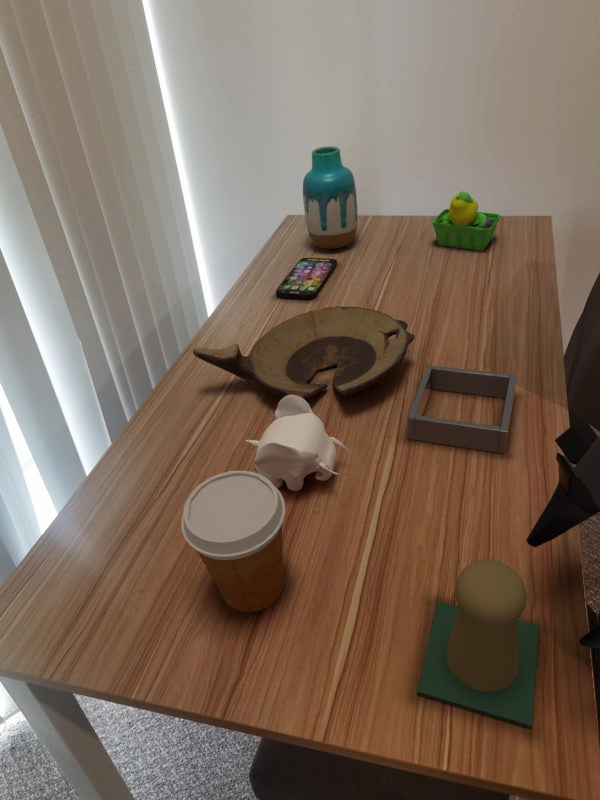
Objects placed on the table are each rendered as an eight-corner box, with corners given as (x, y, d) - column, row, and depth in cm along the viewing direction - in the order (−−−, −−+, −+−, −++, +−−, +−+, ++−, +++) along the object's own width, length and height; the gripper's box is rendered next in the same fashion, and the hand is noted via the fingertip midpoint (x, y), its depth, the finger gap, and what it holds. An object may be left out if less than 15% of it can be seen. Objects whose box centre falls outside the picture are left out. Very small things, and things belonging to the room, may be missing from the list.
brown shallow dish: (406, 424, 78) (405, 376, 73) (192, 412, 85) (179, 368, 80) (419, 333, 94) (419, 289, 90) (239, 329, 102) (231, 289, 97)
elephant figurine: (340, 509, 67) (334, 450, 62) (240, 498, 71) (226, 442, 65) (354, 451, 75) (350, 394, 69) (263, 444, 78) (252, 389, 72)
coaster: (538, 629, 53) (539, 625, 53) (531, 729, 47) (532, 725, 47) (437, 604, 57) (437, 600, 56) (416, 694, 50) (416, 691, 50)
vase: (298, 251, 125) (286, 156, 113) (326, 232, 131) (318, 140, 119) (341, 259, 119) (333, 160, 108) (368, 239, 126) (364, 143, 114)
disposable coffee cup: (236, 536, 66) (214, 457, 59) (314, 562, 62) (301, 480, 55) (188, 608, 59) (156, 529, 52) (271, 641, 56) (250, 561, 48)
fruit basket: (499, 238, 118) (504, 181, 111) (484, 257, 113) (489, 197, 106) (444, 232, 124) (446, 177, 117) (427, 249, 118) (428, 192, 111)
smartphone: (273, 292, 109) (301, 257, 120) (273, 297, 109) (301, 261, 120) (313, 295, 106) (338, 258, 117) (314, 300, 107) (339, 263, 118)
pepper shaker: (535, 669, 50) (553, 591, 43) (476, 705, 48) (486, 630, 42) (486, 613, 55) (496, 535, 48) (431, 645, 53) (434, 568, 46)
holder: (514, 395, 80) (516, 374, 77) (504, 454, 71) (507, 431, 69) (426, 385, 84) (426, 364, 81) (408, 439, 75) (407, 417, 73)
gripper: (598, 335, 44) (447, 468, 51) (792, 530, 29) (542, 682, 36) (676, 401, 49) (529, 515, 55) (876, 598, 34) (643, 721, 41)
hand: (554, 590), depth 47 cm, fingers open, 9 cm apart
